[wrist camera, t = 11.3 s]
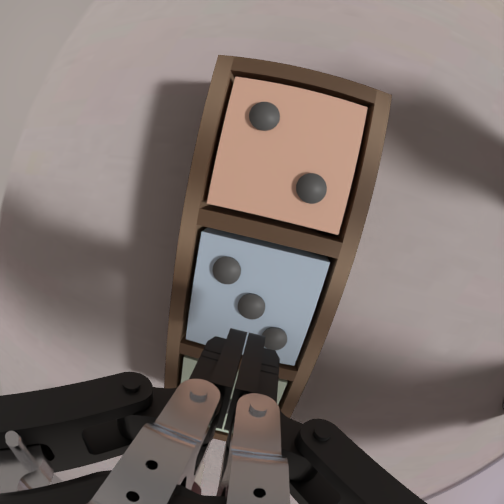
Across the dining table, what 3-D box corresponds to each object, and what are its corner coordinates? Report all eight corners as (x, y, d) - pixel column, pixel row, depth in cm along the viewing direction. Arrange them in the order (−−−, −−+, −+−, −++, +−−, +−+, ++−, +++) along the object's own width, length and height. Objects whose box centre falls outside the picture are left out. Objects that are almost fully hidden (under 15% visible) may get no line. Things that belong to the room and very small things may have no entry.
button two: (328, 224, 16) (339, 235, 13) (220, 198, 16) (205, 203, 13) (353, 118, 14) (368, 106, 11) (243, 93, 14) (234, 75, 11)
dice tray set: (275, 407, 22) (272, 450, 18) (181, 384, 23) (163, 423, 18) (364, 114, 16) (391, 95, 11) (235, 84, 16) (218, 54, 11)
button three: (293, 338, 18) (294, 367, 15) (199, 315, 18) (184, 340, 15) (322, 247, 16) (330, 263, 13) (215, 221, 17) (200, 232, 13)
